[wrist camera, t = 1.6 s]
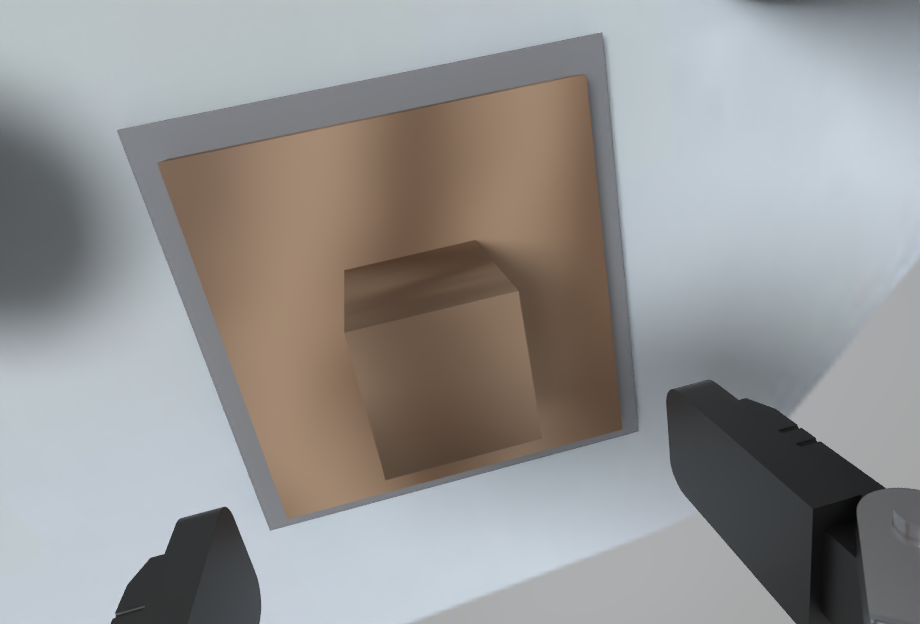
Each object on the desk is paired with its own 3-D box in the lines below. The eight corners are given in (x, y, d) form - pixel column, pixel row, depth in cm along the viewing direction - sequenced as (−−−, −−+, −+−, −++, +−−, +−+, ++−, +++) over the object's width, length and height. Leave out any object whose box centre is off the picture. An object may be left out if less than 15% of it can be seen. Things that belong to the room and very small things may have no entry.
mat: (594, 34, 19) (602, 32, 18) (631, 423, 24) (638, 431, 23) (123, 128, 17) (116, 130, 17) (271, 519, 22) (269, 530, 22)
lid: (573, 75, 18) (673, 69, 13) (611, 415, 23) (697, 521, 17) (167, 159, 17) (82, 193, 12) (289, 500, 22) (270, 643, 16)
